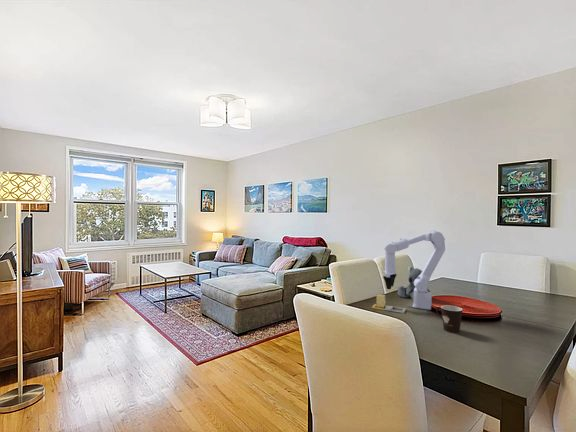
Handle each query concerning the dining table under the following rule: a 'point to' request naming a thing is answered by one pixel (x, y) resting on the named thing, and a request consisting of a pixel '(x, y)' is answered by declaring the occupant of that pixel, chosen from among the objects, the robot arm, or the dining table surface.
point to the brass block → (380, 301)
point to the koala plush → (410, 289)
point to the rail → (390, 308)
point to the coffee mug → (451, 318)
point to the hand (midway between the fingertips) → (390, 287)
